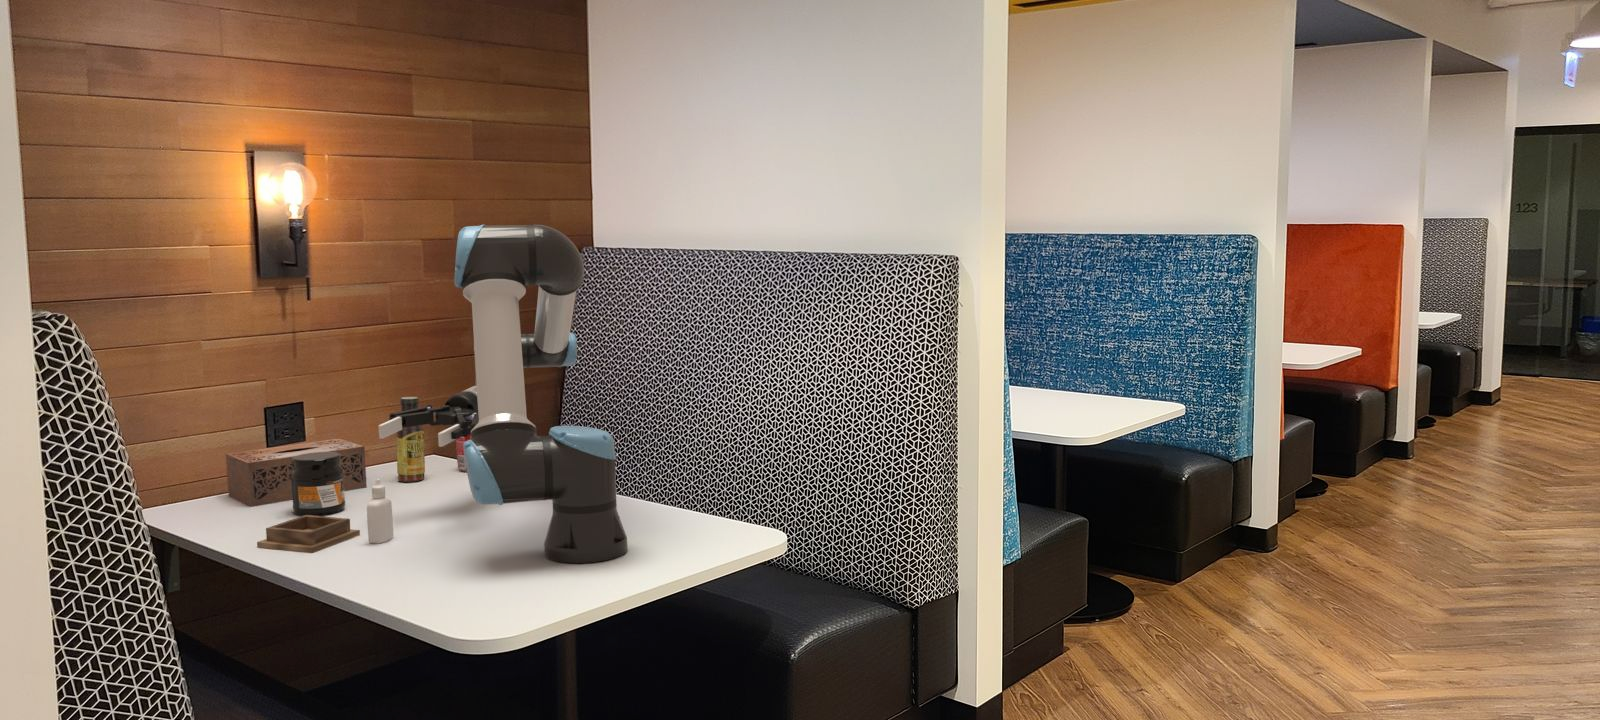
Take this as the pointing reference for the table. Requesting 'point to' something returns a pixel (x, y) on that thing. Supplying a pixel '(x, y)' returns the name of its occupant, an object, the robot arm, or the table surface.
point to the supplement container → (317, 484)
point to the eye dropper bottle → (379, 515)
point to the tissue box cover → (286, 470)
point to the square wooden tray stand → (308, 534)
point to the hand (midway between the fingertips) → (409, 436)
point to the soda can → (461, 452)
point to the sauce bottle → (410, 447)
